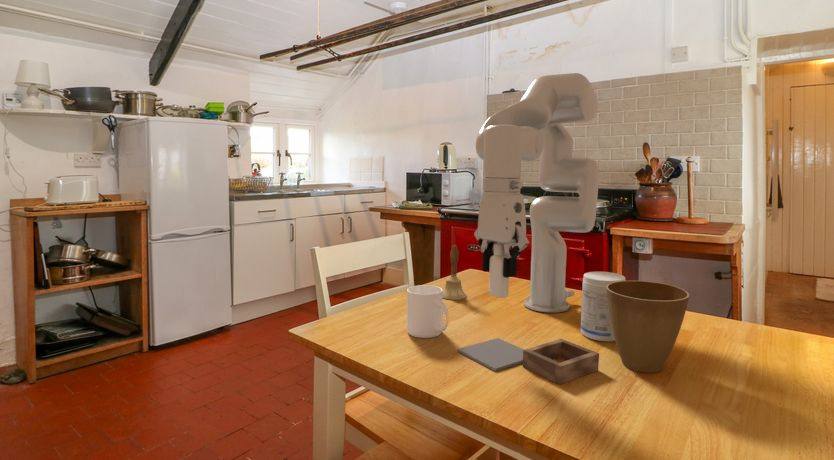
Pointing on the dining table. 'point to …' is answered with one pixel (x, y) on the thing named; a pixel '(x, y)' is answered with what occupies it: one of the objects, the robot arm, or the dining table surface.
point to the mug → (425, 311)
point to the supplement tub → (597, 305)
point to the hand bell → (453, 279)
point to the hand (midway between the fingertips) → (498, 272)
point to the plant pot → (645, 321)
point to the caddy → (575, 366)
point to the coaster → (494, 354)
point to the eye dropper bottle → (498, 273)
